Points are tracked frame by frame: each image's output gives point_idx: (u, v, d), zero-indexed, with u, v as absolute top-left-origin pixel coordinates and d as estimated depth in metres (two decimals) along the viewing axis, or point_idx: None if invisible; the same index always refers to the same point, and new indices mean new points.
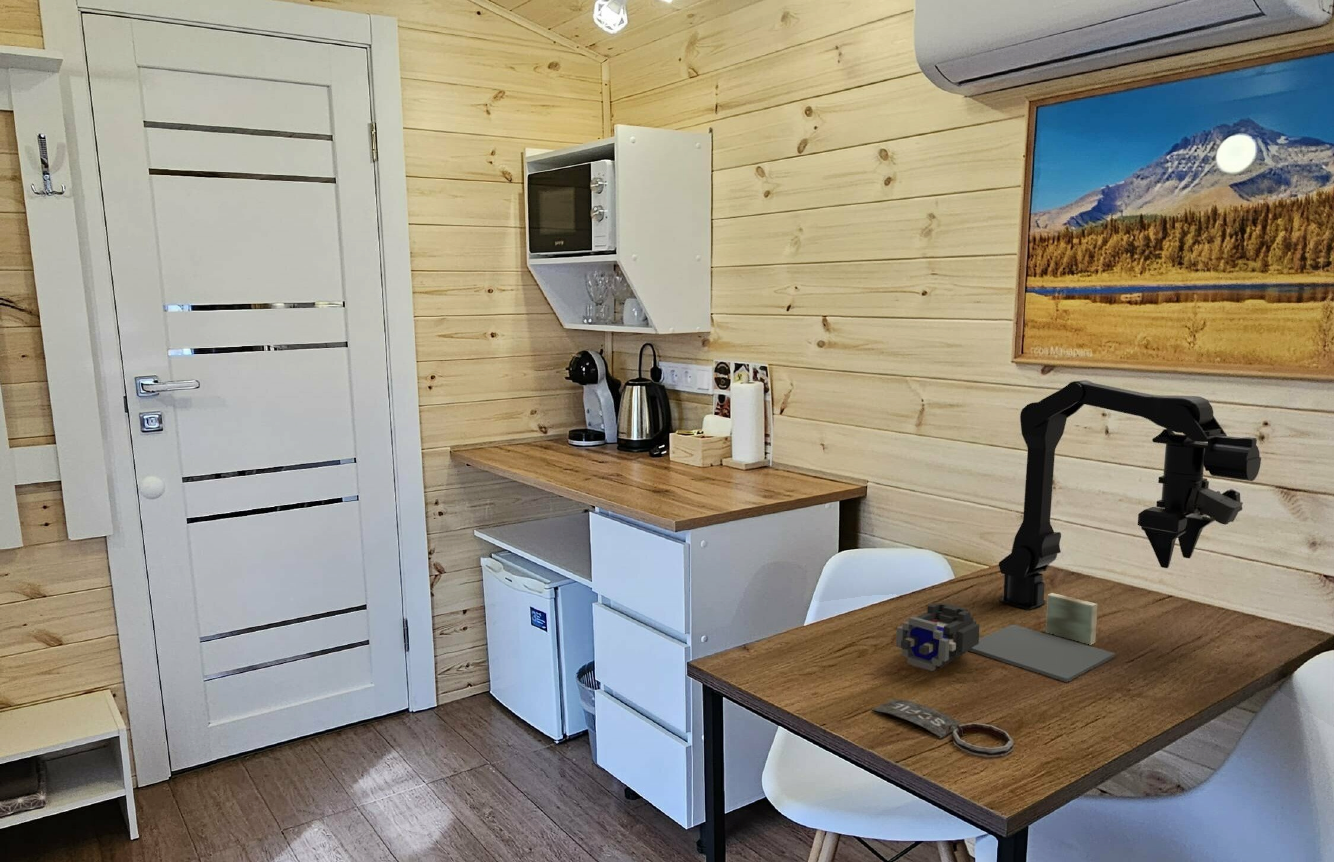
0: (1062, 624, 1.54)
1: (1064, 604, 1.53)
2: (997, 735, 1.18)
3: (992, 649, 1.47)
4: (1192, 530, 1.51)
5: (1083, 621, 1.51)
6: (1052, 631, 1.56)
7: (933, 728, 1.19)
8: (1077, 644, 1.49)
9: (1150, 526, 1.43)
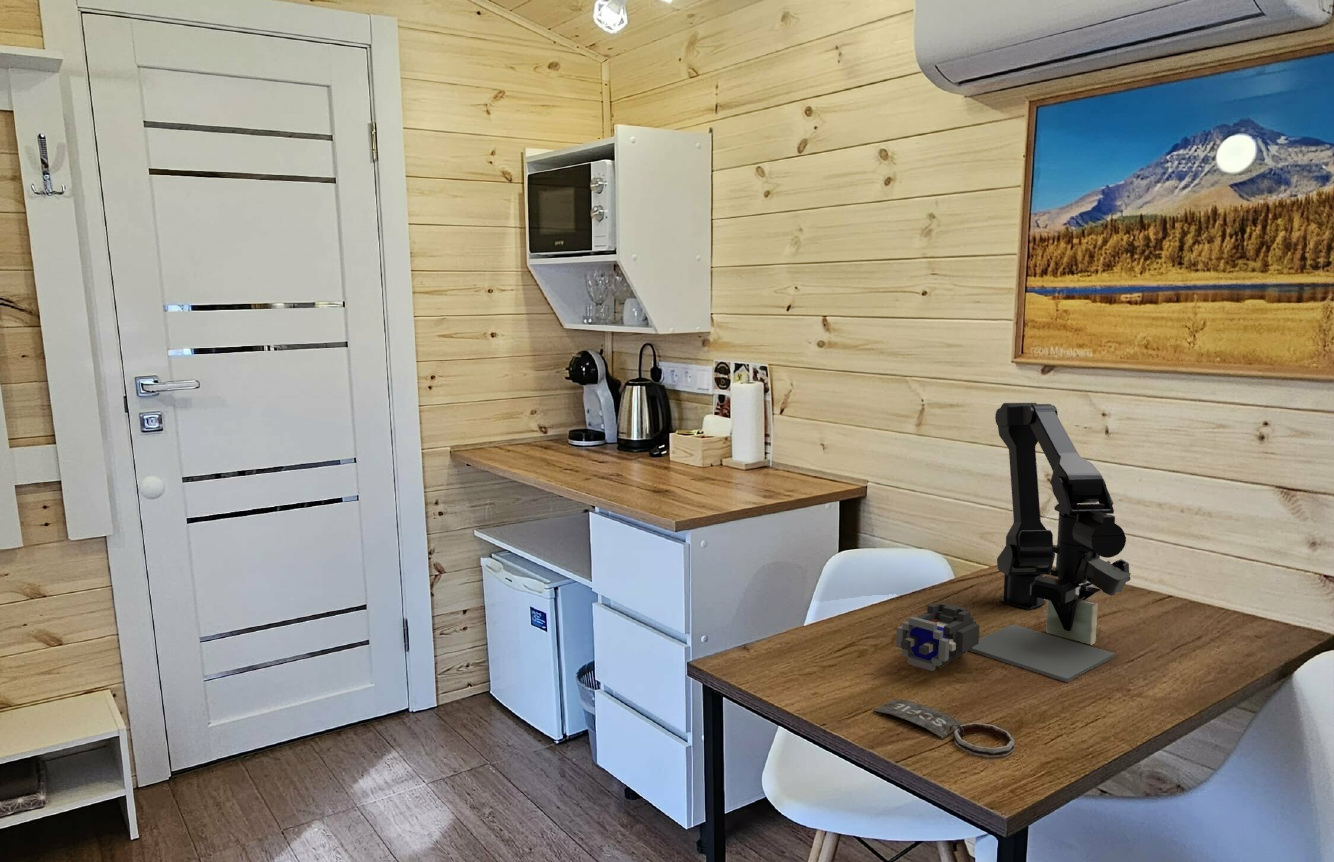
0: None
1: None
2: (998, 735, 1.18)
3: (992, 649, 1.47)
4: None
5: (1083, 621, 1.51)
6: (1052, 631, 1.56)
7: (934, 728, 1.19)
8: (1077, 644, 1.49)
9: (1040, 596, 1.48)
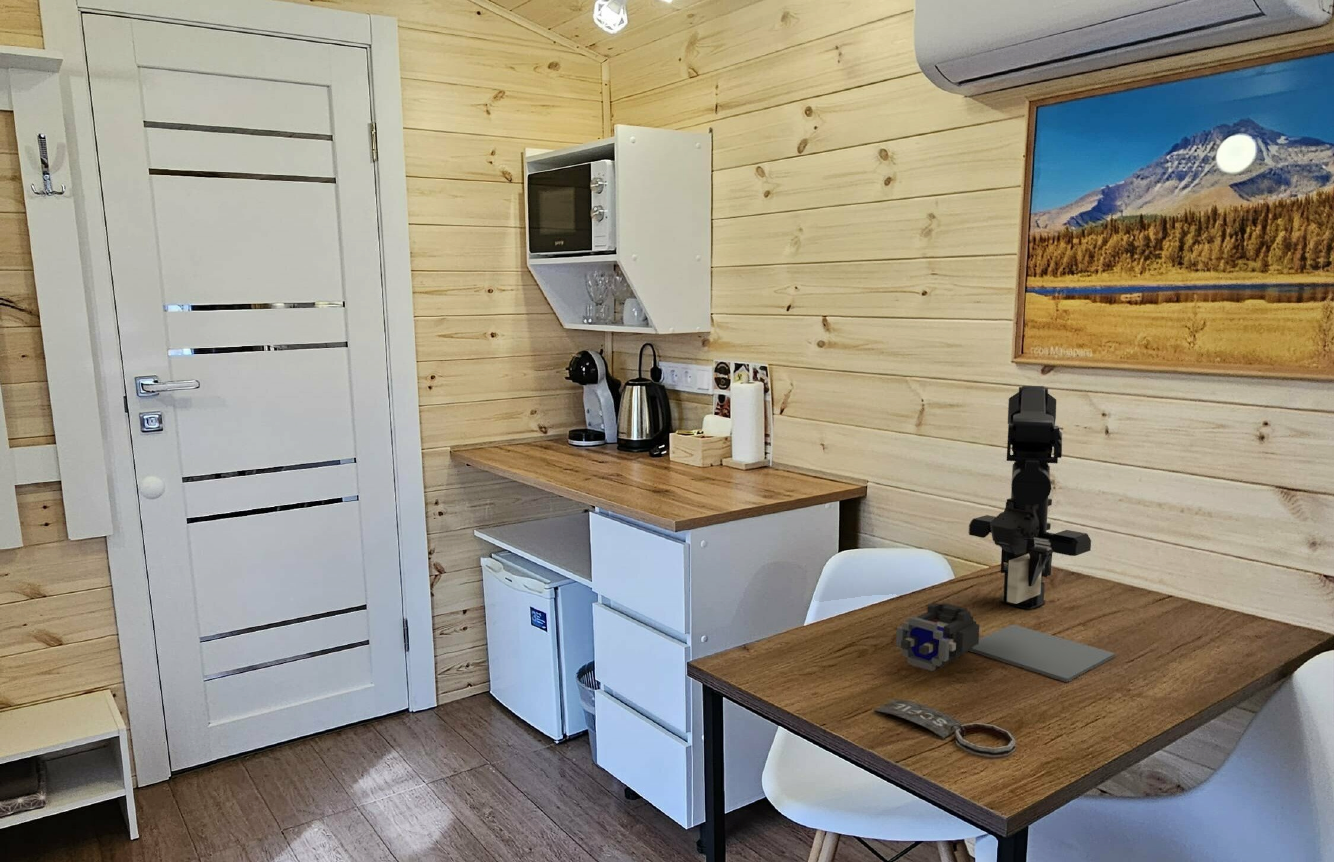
0: None
1: None
2: (999, 735, 1.18)
3: (992, 649, 1.47)
4: None
5: None
6: None
7: (935, 728, 1.19)
8: (1077, 644, 1.49)
9: None
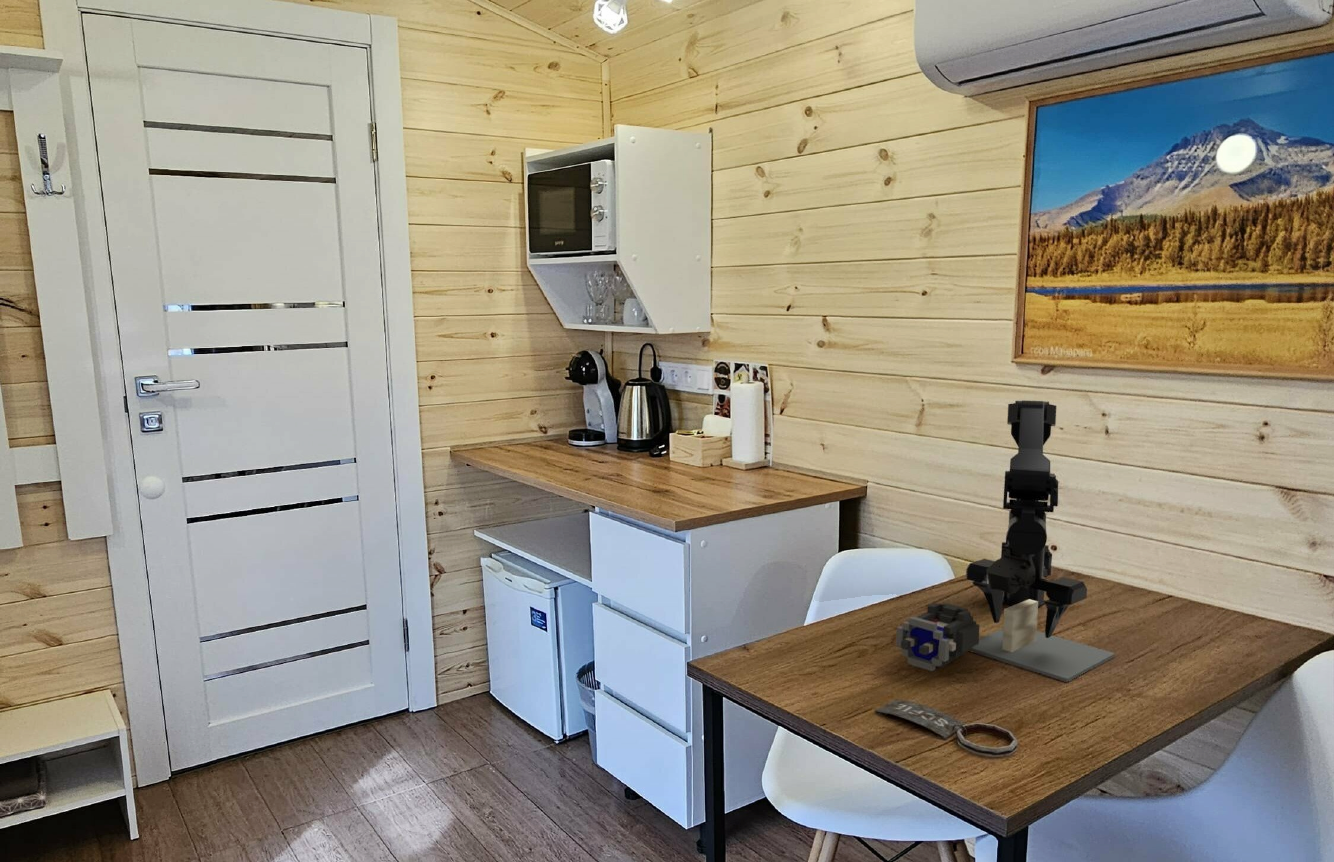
0: None
1: None
2: (1001, 735, 1.18)
3: (992, 649, 1.47)
4: None
5: None
6: None
7: (936, 728, 1.19)
8: (1077, 644, 1.49)
9: None
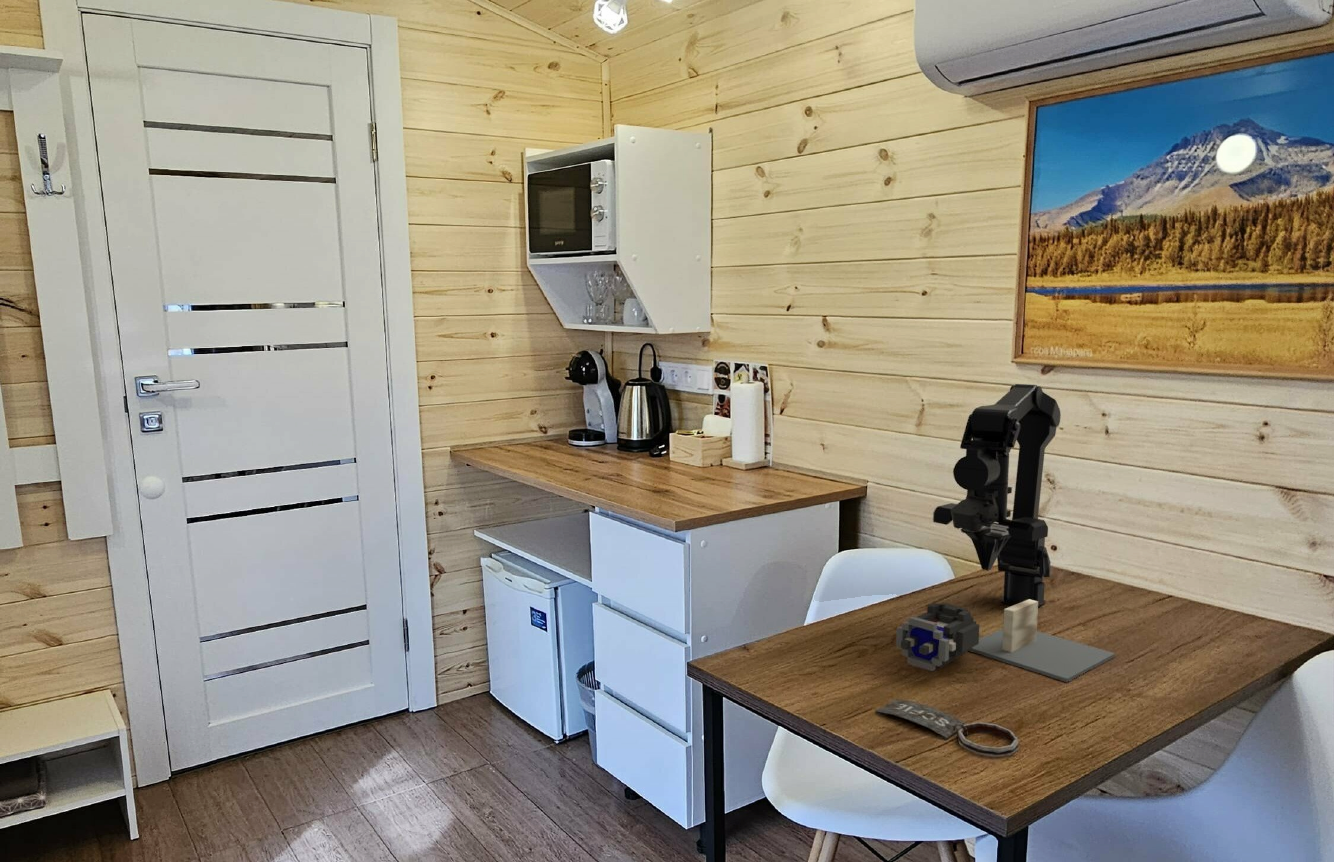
0: None
1: None
2: (1001, 734, 1.18)
3: (992, 649, 1.47)
4: None
5: None
6: None
7: (937, 728, 1.19)
8: (1077, 644, 1.49)
9: None
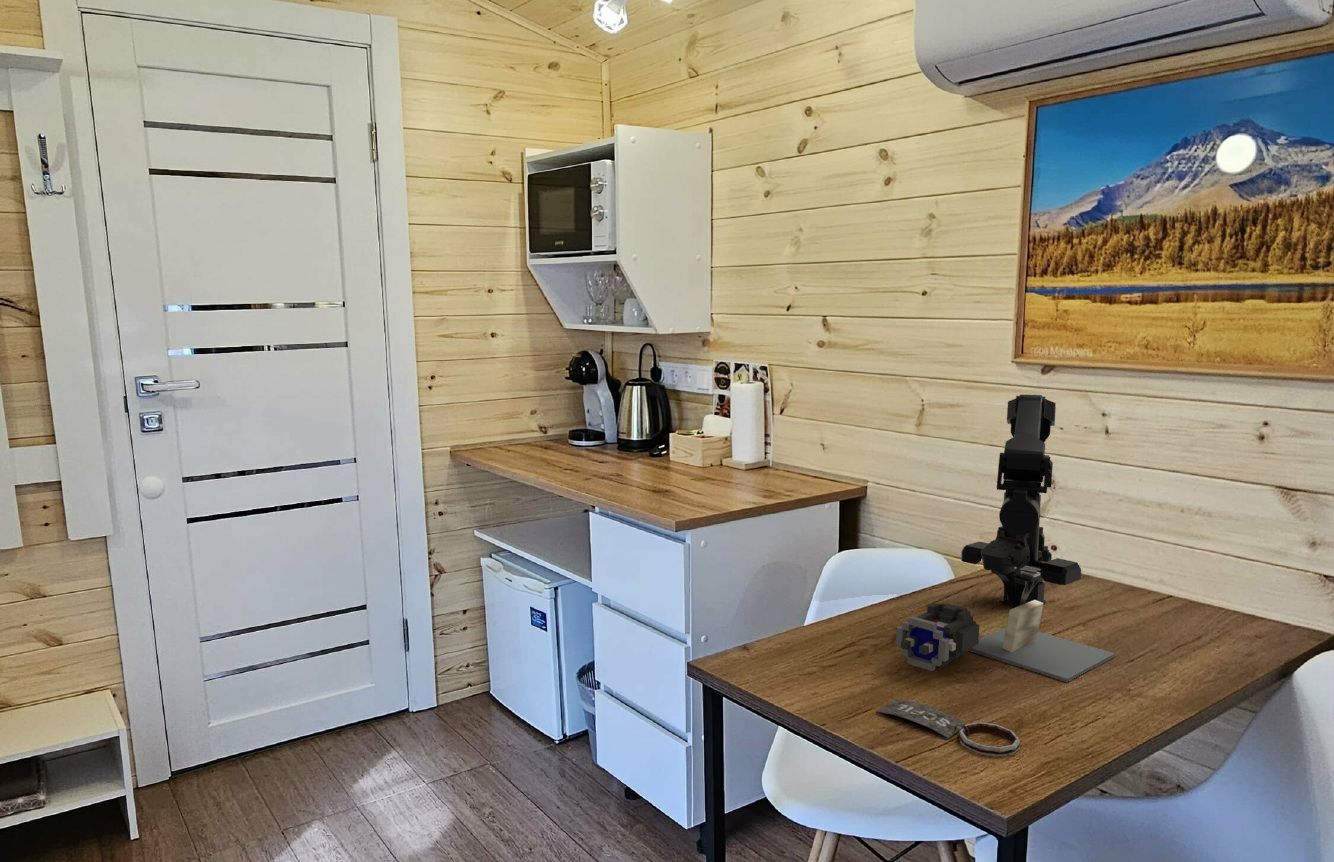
0: None
1: None
2: (1003, 734, 1.18)
3: (992, 649, 1.47)
4: None
5: None
6: None
7: (939, 728, 1.19)
8: (1077, 644, 1.49)
9: None
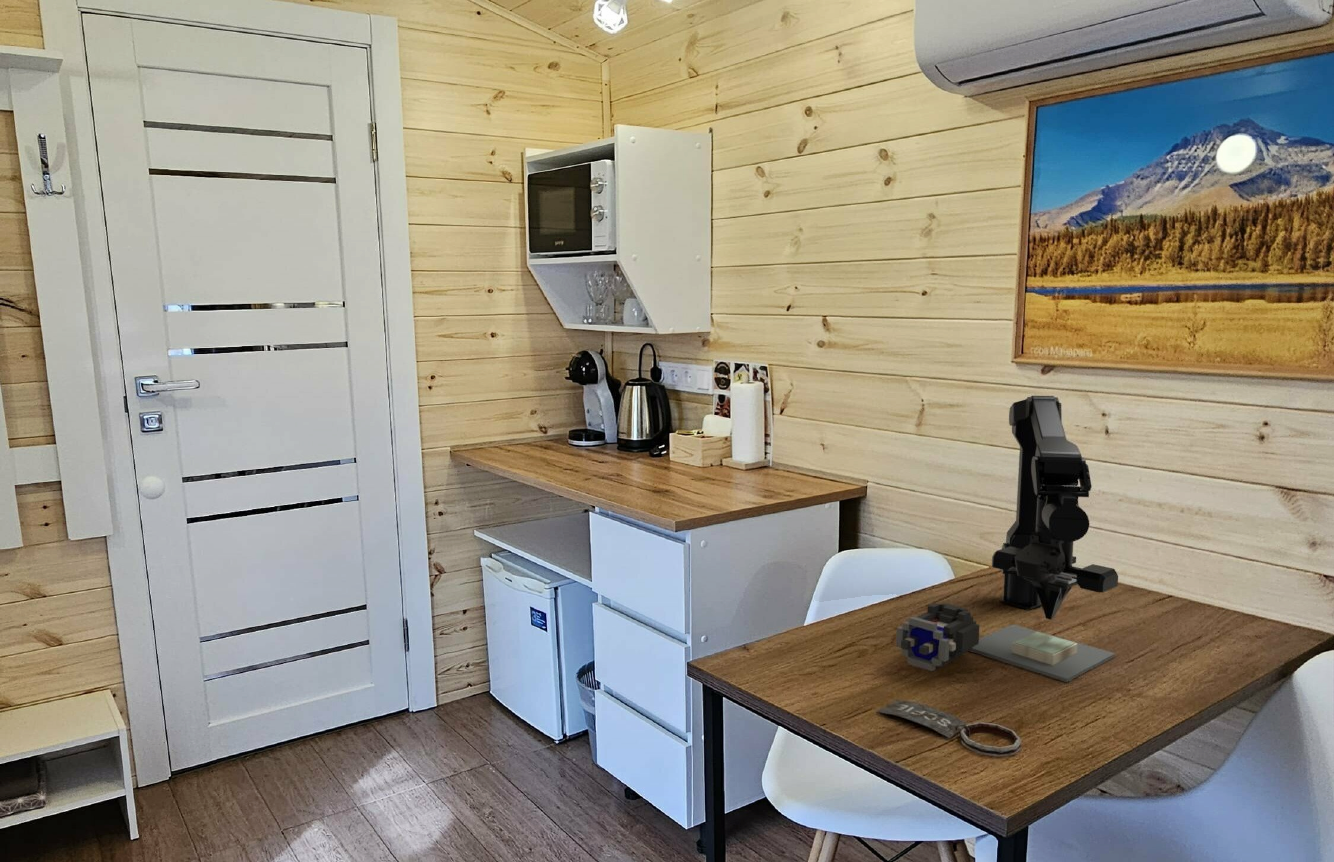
0: (1041, 640, 1.47)
1: (1062, 645, 1.44)
2: (1003, 734, 1.18)
3: (992, 649, 1.47)
4: None
5: (1039, 647, 1.43)
6: (1036, 633, 1.49)
7: (940, 728, 1.19)
8: None
9: None
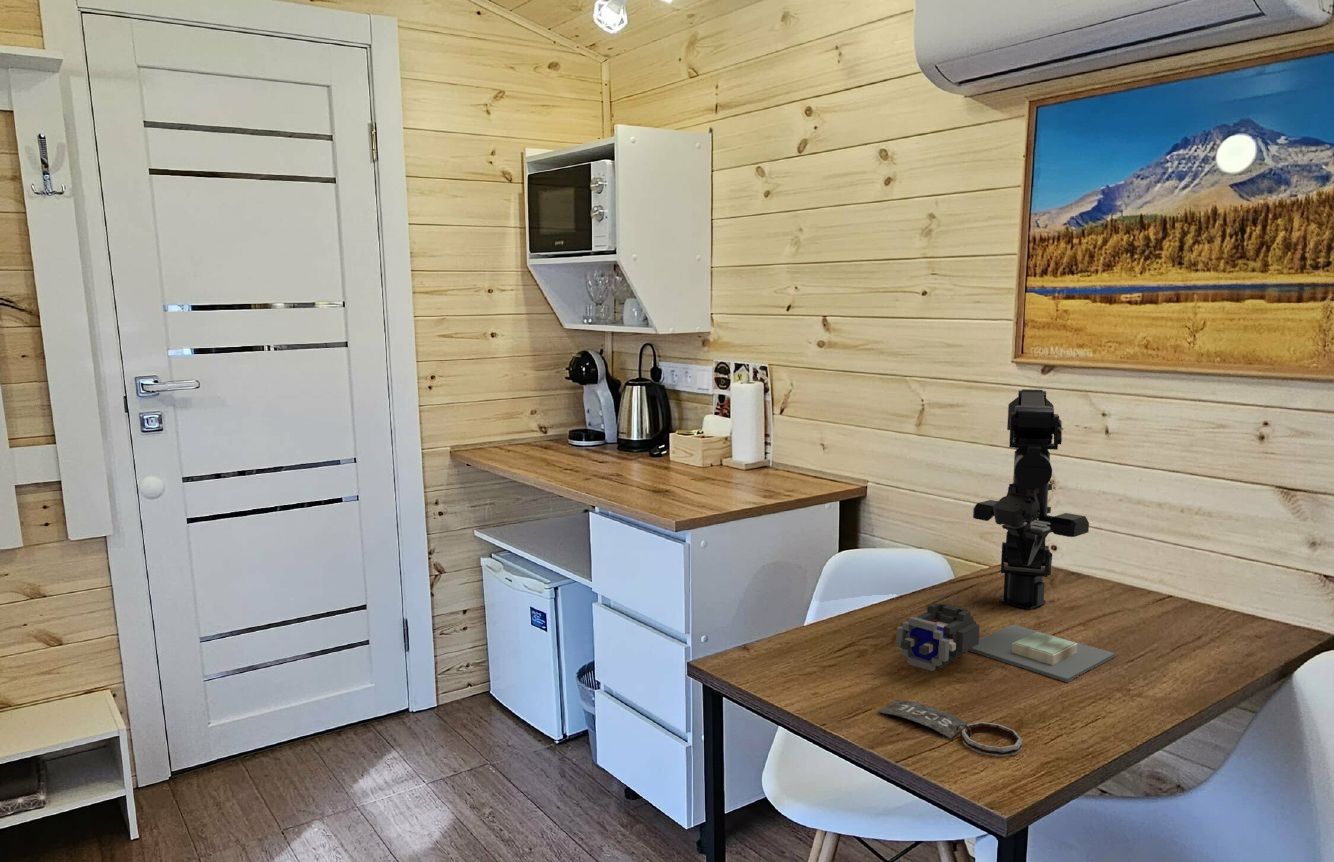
0: (1041, 640, 1.47)
1: (1062, 645, 1.44)
2: (1004, 734, 1.18)
3: (992, 649, 1.47)
4: None
5: (1039, 647, 1.43)
6: (1036, 633, 1.49)
7: (941, 728, 1.19)
8: None
9: None
